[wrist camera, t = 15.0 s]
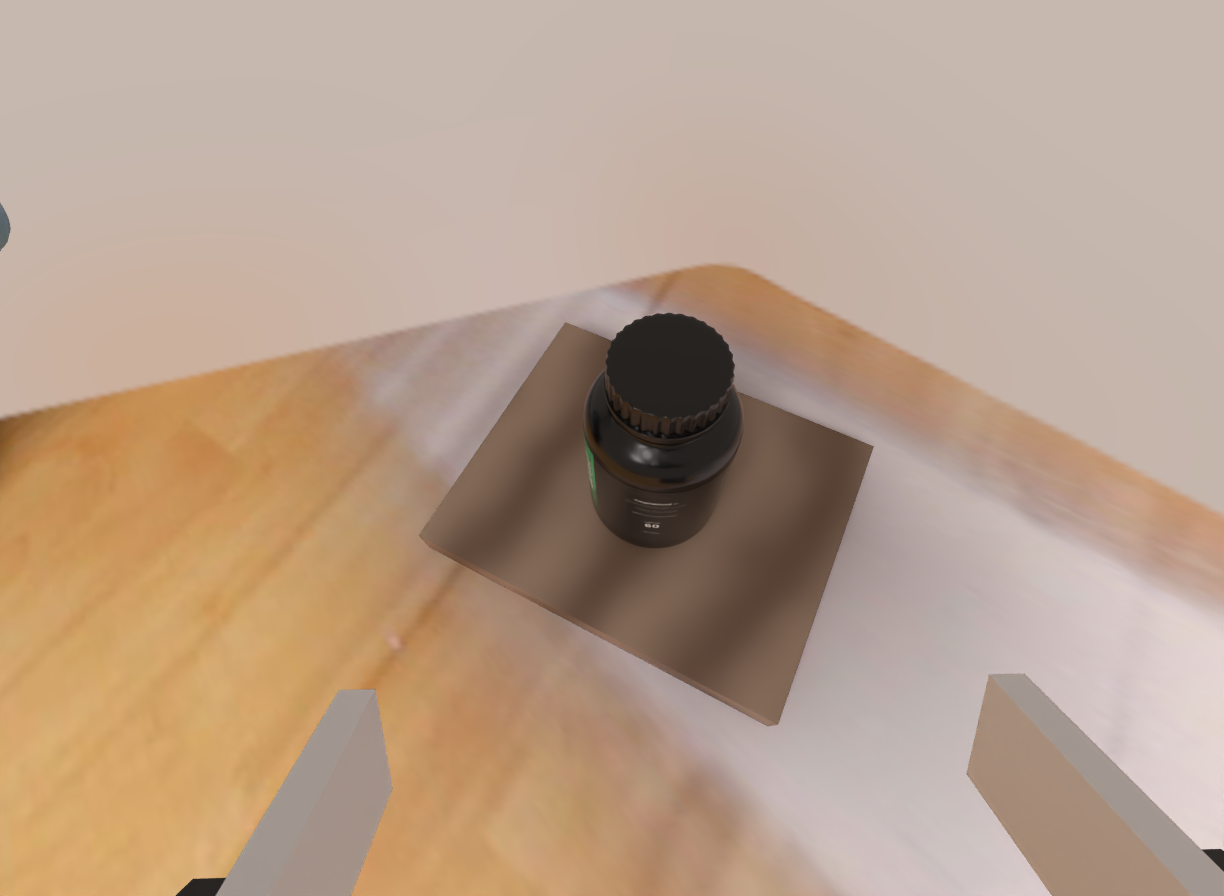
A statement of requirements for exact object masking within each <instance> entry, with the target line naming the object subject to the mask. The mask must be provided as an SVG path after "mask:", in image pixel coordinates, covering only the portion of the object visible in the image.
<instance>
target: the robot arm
mask: <svg viewBox="0 0 1224 896" xmlns="http://www.w3.org/2000/svg"><path fill="white" fill-rule="evenodd" d="M9 233H10V223H9V219H8V216H7V214H6V212H5V210H4V208H3V206H2V205H1V203H0V251H1V249H2V248H3V247H4V246H5V244H6V243H7V241H8V237H9ZM967 775H968V777H969V778H970V780H971V781H972V782H973V784H974V785H975V787H976V788H977V789H978V791H979V792H980V794H981V795H982V797H983V798H984V799H985V801H986V802H987V804H988V805H989V807H990V808H991V809H992V811H993V812H994V814H995V815H996V817H997V818H998V819H999V821H1000V822H1001V824H1002V825H1003V827H1004V828H1005V829H1006V831H1007V832H1008V834H1009V835H1010V837H1011V838H1012V839H1013V841H1014V842H1015V844H1016V845H1017V847H1018V848H1019V849H1020V851H1021V852H1022V854H1023V855H1024V857H1025V858H1026V859H1027V861H1028V862H1029V864H1030V865H1031V867H1032V868H1033V869H1034V871H1035V872H1036V874H1037V875H1038V877H1039V878H1040V879H1041V881H1042V882H1043V884H1044V885H1045V887H1046V888H1047V889H1048V891H1049V892H1050V894H1051V895H1052V896H1224V851H1223V850H1221V849H1206V850H1201V849H1200V848H1199V847H1198V846H1197V845H1196V844H1195V843H1194V842H1193V841H1192V840H1191V839H1190V838H1189V837H1188V836H1187V835H1186V834H1185V833H1184V832H1183V831H1182V830H1181V829H1180V828H1179V827H1178V826H1177V825H1176V824H1175V823H1174V822H1173V821H1172V820H1171V819H1170V818H1169V817H1168V816H1167V815H1166V814H1165V813H1164V812H1163V811H1162V810H1161V809H1160V808H1159V807H1158V806H1157V805H1156V804H1155V803H1154V802H1153V801H1152V800H1151V799H1150V798H1149V797H1148V796H1147V795H1146V794H1145V793H1144V792H1143V791H1142V790H1141V789H1140V788H1139V787H1138V786H1137V785H1136V784H1135V783H1134V782H1133V781H1132V780H1131V779H1130V778H1129V777H1128V776H1127V775H1126V774H1125V773H1124V772H1123V771H1122V770H1121V769H1120V768H1119V767H1118V766H1117V765H1116V764H1115V763H1114V762H1113V761H1112V760H1111V759H1110V758H1109V757H1108V756H1107V755H1106V754H1105V753H1104V752H1103V751H1102V750H1101V749H1100V748H1099V747H1098V746H1097V745H1096V744H1095V743H1094V742H1093V741H1092V740H1091V739H1090V738H1089V737H1088V736H1087V735H1086V734H1085V733H1084V732H1083V731H1082V730H1081V729H1080V728H1079V727H1078V726H1077V725H1076V724H1075V723H1074V722H1073V721H1072V720H1071V719H1070V718H1069V717H1068V716H1067V715H1065V714H1064V713H1063V712H1062V711H1061V710H1060V709H1059V708H1058V707H1057V706H1056V705H1055V704H1054V703H1053V702H1052V701H1051V700H1050V699H1049V698H1048V697H1047V696H1046V695H1045V694H1044V693H1043V692H1042V691H1041V690H1040V689H1039V688H1038V687H1037V686H1036V685H1035V684H1034V683H1033V682H1032V681H1031V680H1030V679H1029V678H1028V677H1027V676H1026V675H1025V674H994V675H989V678H988V682H987V686H986V691H985V695H984V700H983V704H982V708H981V713H980V717H979V722H978V726H977V730H976V735H975V739H974V743H973V748H972V752H971V757H970V761H969V765H968V770H967ZM392 789H393V788H392V782H391V776H390V770H389V765H388V759H387V753H386V747H385V742H384V736H383V730H382V724H381V718H380V713H379V707H378V701H377V695H376V690H375V689H362V690H339V691H338V693H337V694H336V696H335V698H334V699H333V701H332V703H331V704H330V706H329V708H328V709H327V711H326V713H325V714H324V716H323V718H322V719H321V721H320V723H319V724H318V726H317V728H316V729H315V731H314V733H313V734H312V736H311V738H310V739H309V741H308V743H307V744H306V746H305V748H304V749H303V751H302V753H301V754H300V756H299V758H298V759H297V761H296V763H295V764H294V766H293V768H292V769H291V771H290V773H289V774H288V776H287V778H286V779H285V781H284V783H283V784H282V786H281V788H280V789H279V791H278V793H277V794H276V796H275V798H274V799H273V801H272V803H271V804H270V806H269V808H268V809H267V811H266V813H265V814H264V816H263V818H262V819H261V821H260V823H259V824H258V826H257V828H256V829H255V831H254V833H253V834H252V836H251V838H250V839H249V841H248V843H247V844H246V846H245V848H244V849H243V851H242V853H241V854H240V856H239V858H238V859H237V861H236V863H235V864H234V866H233V868H232V869H231V871H230V873H229V874H228V876H227V878H208V879H192V880H191V881H190V882H189V883H188V884H187V885H186V886H185V887H184V888H183V889H182V890H181V891H180V892H179V893H178V894H177V895H176V896H351V894H352V892H353V889H354V886H355V884H356V881H357V879H358V876H359V874H360V871H361V868H362V866H363V863H364V861H365V858H366V856H367V853H368V851H369V848H370V845H371V843H372V840H373V838H374V835H375V833H376V830H377V827H378V825H379V822H380V820H381V817H382V815H383V812H384V810H385V807H386V804H387V802H388V799H389V797H390V794H391V792H392Z"/></svg>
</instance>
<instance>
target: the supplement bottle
mask: <svg viewBox="0 0 1224 896" xmlns="http://www.w3.org/2000/svg"><path fill="white" fill-rule="evenodd" d="M732 359H733V354H732V353H731V352H730V351H729V345H728V344H727V343H726V342H725V341H724V340H723V337H722V336H721V335H720V334H718V333H717V332H716V331H715V329H714V328H712V327H710V326H708V325H707V324H706V323H705V322H703V321H699V320H697V319H696V318H694V317H688V316H685V315H683V314H672V313H666V314H658V313H657V314H655V315H653V316H645V317H643V318H642V319H638V320H635V321H634V322H633V323H632V324H630V325H627V326H625V327H624V329H623V330H622V331H620V332H619V333H617V335H616V338H615V339H614V340H613V341H612V342H611V344H610V349H608V351H607V353H606V361H605V364H604V368H605V369H604V370H603V371H602V372H601V373H600V374H599V375H598V376H597V378H596V379H595V380H594V382H593V383H592V385H591V387H590V389H589V391H588V394H587V396H586V399H585V403H584V409H583V430H584V440H585V449H586V457H587V466H588V475H589V484H590V491H591V497H592V502H593V505H594V508H595V510H596V513H597V515H598V516H599V518H600V520H601V521H602V523H603V524H604V525H605V526H606V527H607V529H609V530H610V531H611V532H612V533H613V534H614V535H616V536H617V537H618V538H620V539H622V540H623V541H626V542H628V543H630V544H632V545H635V546H639V547H644V548H653V549H656V548H667V547H672V546H675V545H678V544H681V543H683V542H685V541H687V540H689V539H690V538H692V537H693V536H695V535H696V534H697V533H698V532H699V531H700V530H701V529H702V528H703V527H704V526H705V525H706V523H707V522H708V520H709V519H710V517H711V515H712V513H713V511H714V509H715V507H716V504H717V502H718V499H719V497H720V494H721V492H722V489H723V487H724V484H725V482H726V479H727V476H728V474H729V471H730V469H731V466H732V464H733V461H734V459H735V456H736V454H737V451H738V448H739V445H740V442H741V439H742V434H743V428H744V413H743V407H742V403H741V400H740V397H739V394H738V392H737V390H736V388H735V387H734V385H733V381H734V369H735V364H734V362H733V360H732Z"/></svg>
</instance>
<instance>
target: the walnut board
mask: <svg viewBox="0 0 1224 896" xmlns="http://www.w3.org/2000/svg"><path fill="white" fill-rule="evenodd" d="M611 342H612V341H610V340H608V339H605V338H603V337H600V336H598V335H595V334H593V333H590V332H588V331H585V330H583V329H580V328H578V327H576V326H573V325H571V324H568V323H566V322H565V324H564V325H563V327H562V328H561V330H560V331H559V333H558V334H557V335H556V337H555V338H554V340H553V341H552V343H551V344H550V346H549V347H548V349H547V350H546V351H545V353H544V354H543V356H542V357H541V359H540V360H539V362H538V363H537V365H536V366H535V367H534V369H533V370H532V372H531V373H530V375H529V376H528V378H527V379H526V380H525V382H524V383H523V385H522V386H521V388H520V389H519V391H518V392H517V394H516V395H515V396H514V398H513V399H512V401H511V402H510V404H509V405H508V407H507V408H506V410H505V411H504V412H503V414H502V415H501V417H500V418H499V420H498V421H497V423H496V424H495V426H494V427H493V428H492V430H491V431H490V433H489V434H488V436H487V437H486V439H485V440H484V441H483V443H482V444H481V446H480V447H479V449H478V450H477V452H476V453H475V455H474V456H473V457H472V459H471V460H470V462H469V463H468V465H467V466H466V468H465V469H464V471H463V472H462V473H461V475H460V476H459V478H458V479H457V481H456V482H455V484H454V485H453V487H452V488H451V489H450V491H449V492H448V494H447V495H446V497H445V498H444V500H443V501H442V503H441V504H440V505H439V507H438V508H437V510H436V511H435V513H434V514H433V516H432V517H431V518H430V520H429V521H428V523H427V524H426V526H425V527H424V529H423V530H422V532H421V533H420V534H419V536H420V537H421V538H422V539H423V541H424V542H425V543H426V544H427V545H428V546H429V547H430V548H432V549H434V550H436V551H438V552H440V553H442V554H443V555H445V556H447V557H449V558H451V559H453V560H455V561H457V562H459V563H461V564H462V565H464V566H466V567H468V568H470V569H472V570H474V571H476V572H478V573H479V574H481V575H483V576H485V577H487V578H489V579H491V580H493V581H495V582H496V583H498V584H500V585H502V586H504V587H506V588H508V589H510V590H512V591H513V592H515V593H517V594H519V595H521V596H523V597H525V598H527V599H529V600H530V601H532V602H534V603H536V604H538V605H540V606H542V607H544V608H546V609H547V610H549V611H551V612H553V613H555V614H557V615H559V616H561V617H563V618H564V619H566V620H568V621H570V622H572V623H574V624H576V625H578V626H580V627H582V628H583V629H585V630H587V631H589V632H591V633H593V634H595V635H597V636H599V637H600V638H602V639H604V640H606V641H608V642H610V643H612V644H614V645H616V646H617V647H619V648H621V649H623V650H625V651H627V652H629V653H631V654H633V655H634V656H636V657H638V658H640V659H642V660H644V661H646V662H648V663H650V664H651V665H653V666H655V667H657V668H659V669H661V670H663V671H665V672H667V673H668V674H670V675H672V676H674V677H676V678H678V679H680V680H682V681H684V682H685V683H687V684H689V685H691V686H693V687H695V688H697V689H699V690H701V691H703V692H704V693H706V694H708V695H710V696H712V697H714V698H716V699H718V700H720V701H721V702H723V703H725V704H727V705H729V706H731V707H733V708H735V709H737V710H738V711H740V712H742V713H744V714H746V715H748V716H750V717H752V718H754V719H755V720H757V721H759V722H761V723H763V724H765V725H767V726H772V725H777V724H778V723H779V720H780V717H781V714H782V711H783V708H784V705H785V702H786V699H787V697H788V694H789V691H790V688H791V685H792V682H793V679H794V676H795V673H796V670H797V668H798V665H799V662H800V659H801V656H802V653H803V650H804V647H805V644H806V641H807V639H808V636H809V633H810V630H811V627H812V624H813V621H814V618H815V615H816V612H817V610H818V607H819V604H820V601H821V598H822V595H823V592H824V589H825V586H826V583H827V581H828V578H829V575H830V572H831V569H832V566H833V563H834V560H835V557H836V554H837V551H838V549H839V546H840V543H841V540H842V537H843V534H844V531H845V528H846V525H847V522H848V520H849V517H850V514H851V511H852V508H853V505H854V502H855V499H856V496H857V493H858V491H859V488H860V485H861V482H862V479H863V476H864V473H865V470H866V467H867V464H868V462H869V459H870V456H871V453H872V450H873V447H874V446H871V445H869V444H866V443H864V442H861V441H859V440H856V439H854V438H851V437H849V436H846V435H844V434H841V433H839V432H836V431H834V430H831V429H829V428H826V427H824V426H821V425H819V424H816V423H814V422H812V421H809V420H807V419H804V418H802V417H799V416H797V415H794V414H792V413H789V412H787V411H784V410H782V409H779V408H777V407H774V406H772V405H769V404H767V403H764V402H762V401H759V400H757V399H754V398H752V397H749V396H747V395H744V394H742V393H739V392H738V394H739V397H740V400H741V403H742V407H743V413H744V428H743V434H742V439H741V442H740V445H739V448H738V451H737V454H736V456H735V459H734V461H733V464H732V466H731V469H730V471H729V474H728V476H727V479H726V482H725V484H724V487H723V489H722V492H721V494H720V497H719V499H718V502H717V504H716V507H715V509H714V511H713V513H712V515H711V517H710V519H709V520H708V522H707V523H706V525H705V526H704V527H703V528H702V529H701V530H700V531H699V532H698V533H697V534H696V535H695V536H693V537H692V538H690V539H689V540H687V541H685V542H683V543H681V544H678V545H675V546H672V547H667V548H656V549H653V548H644V547H639V546H635V545H632V544H630V543H628V542H626V541H623V540H622V539H620V538H618V537H617V536H616V535H614V534H613V533H612V532H611V531H610V530H609V529H607V527H606V526H605V525H604V524H603V523H602V521H601V520H600V518H599V516H598V515H597V513H596V510H595V508H594V505H593V502H592V497H591V491H590V484H589V475H588V466H587V457H586V449H585V440H584V430H583V409H584V403H585V399H586V396H587V394H588V391H589V389H590V387H591V385H592V383H593V382H594V380H595V379H596V378H597V376H598V375H599V374H600V373H601V372H602V371H603V370H604V369H605V368H604V364H605V361H606V353H607V351H608V349H610V344H611Z"/></svg>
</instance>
